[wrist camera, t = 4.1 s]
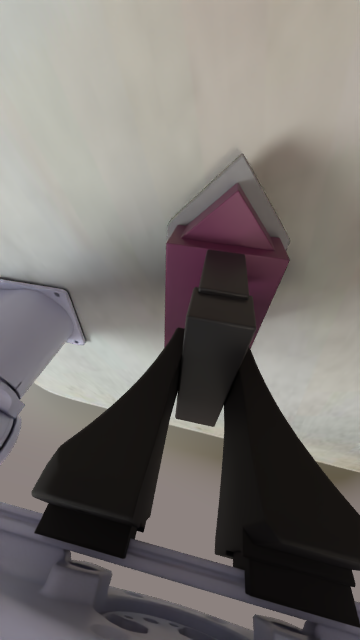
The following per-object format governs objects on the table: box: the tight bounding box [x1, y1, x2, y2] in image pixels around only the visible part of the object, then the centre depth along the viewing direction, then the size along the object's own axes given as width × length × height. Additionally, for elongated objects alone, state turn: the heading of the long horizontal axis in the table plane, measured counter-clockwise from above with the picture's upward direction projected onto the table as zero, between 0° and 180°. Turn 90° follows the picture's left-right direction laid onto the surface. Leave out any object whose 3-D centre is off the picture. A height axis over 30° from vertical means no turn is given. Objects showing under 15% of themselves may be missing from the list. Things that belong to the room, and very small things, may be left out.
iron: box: [164, 154, 290, 427], centre depth 11 cm, size 12×7×9 cm, turn 176°
